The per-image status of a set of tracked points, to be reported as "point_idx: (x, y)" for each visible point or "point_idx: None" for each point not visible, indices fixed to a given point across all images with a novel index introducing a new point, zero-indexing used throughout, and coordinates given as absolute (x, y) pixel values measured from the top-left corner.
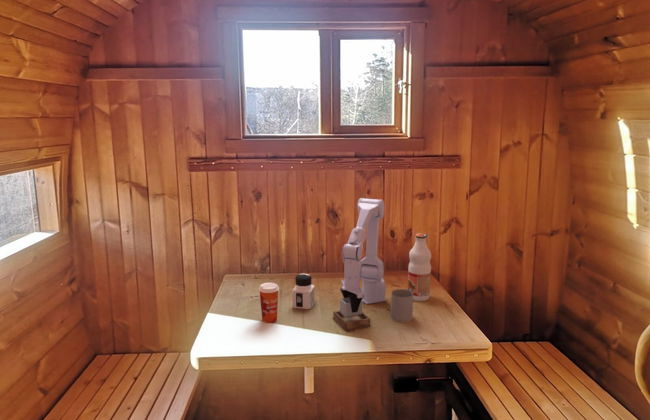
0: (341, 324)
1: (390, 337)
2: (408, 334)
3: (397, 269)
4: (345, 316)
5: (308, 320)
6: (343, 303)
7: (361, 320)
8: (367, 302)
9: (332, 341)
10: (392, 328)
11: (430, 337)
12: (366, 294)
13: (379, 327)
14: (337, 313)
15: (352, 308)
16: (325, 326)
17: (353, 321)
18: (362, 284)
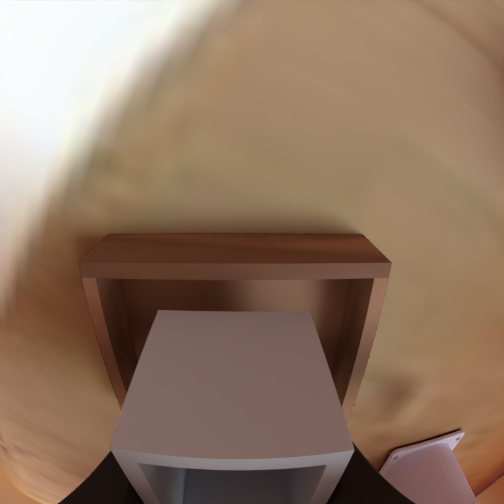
0: (185, 241)
1: (21, 396)
2: (50, 448)
3: None
4: (156, 316)
5: (422, 38)
6: (203, 434)
7: (114, 390)
8: (397, 456)
9: (6, 84)
10: (101, 445)
11: (36, 466)
12: (421, 479)
13: None
14: (363, 289)
15: None
16: (256, 101)
17: (103, 338)
18: (464, 497)
